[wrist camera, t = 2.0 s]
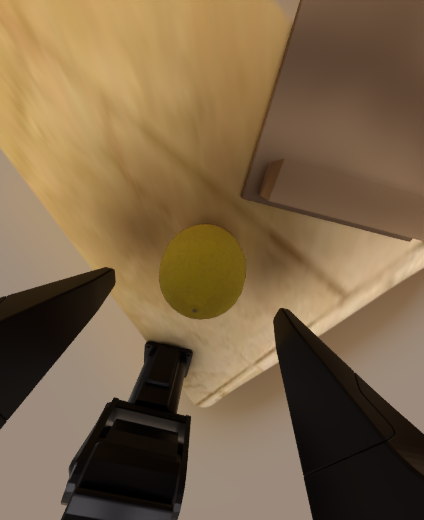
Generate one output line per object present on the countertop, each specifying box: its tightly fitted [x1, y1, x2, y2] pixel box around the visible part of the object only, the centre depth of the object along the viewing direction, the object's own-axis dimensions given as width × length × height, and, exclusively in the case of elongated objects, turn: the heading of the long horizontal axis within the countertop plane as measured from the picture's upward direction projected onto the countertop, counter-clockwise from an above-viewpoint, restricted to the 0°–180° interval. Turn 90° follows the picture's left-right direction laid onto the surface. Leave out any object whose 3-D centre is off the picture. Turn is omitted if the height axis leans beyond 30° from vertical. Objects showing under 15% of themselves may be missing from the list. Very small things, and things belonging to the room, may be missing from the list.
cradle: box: [241, 0, 424, 242], centre depth 8 cm, size 13×13×4 cm
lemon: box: [159, 224, 246, 319], centre depth 11 cm, size 6×6×8 cm
